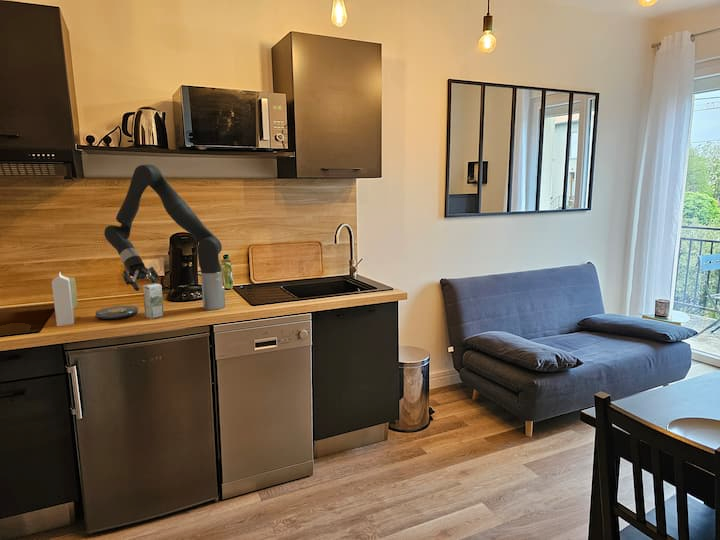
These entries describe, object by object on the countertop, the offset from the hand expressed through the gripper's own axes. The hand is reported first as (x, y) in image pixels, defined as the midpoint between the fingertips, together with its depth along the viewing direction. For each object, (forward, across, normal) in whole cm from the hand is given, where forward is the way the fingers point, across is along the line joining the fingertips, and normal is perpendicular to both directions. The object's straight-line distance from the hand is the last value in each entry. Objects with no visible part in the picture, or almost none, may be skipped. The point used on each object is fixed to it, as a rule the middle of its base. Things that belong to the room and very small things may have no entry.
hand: (147, 288), depth 215 cm
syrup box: (+12, 0, +6) cm, 13 cm away
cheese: (-17, -20, +35) cm, 44 cm away
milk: (-3, -28, +21) cm, 35 cm away
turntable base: (+1, -9, +16) cm, 19 cm away
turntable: (0, -9, +16) cm, 18 cm away
